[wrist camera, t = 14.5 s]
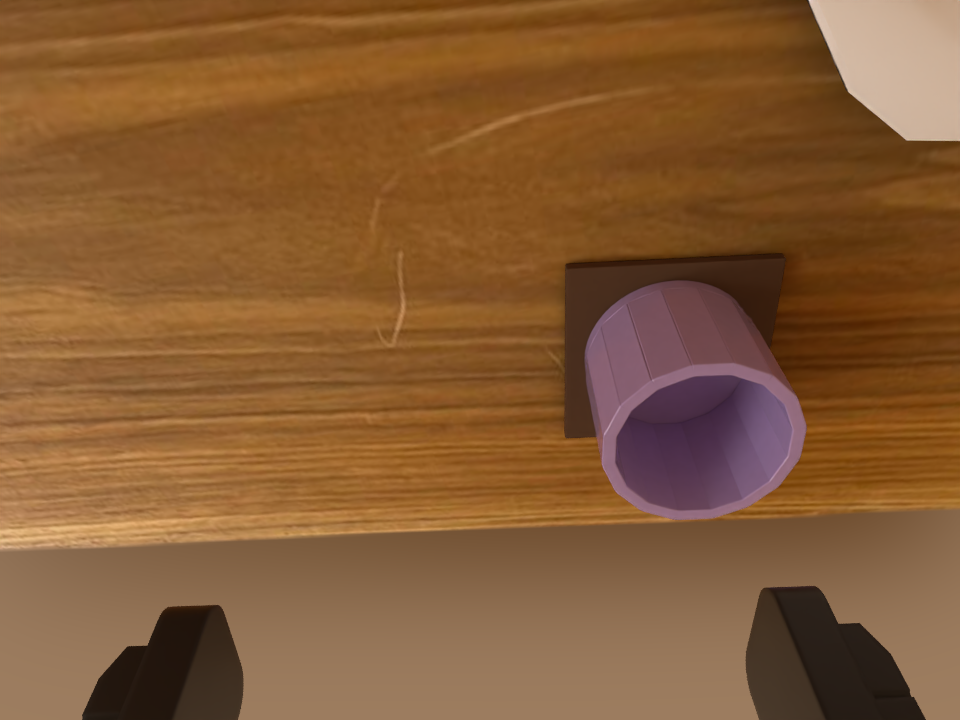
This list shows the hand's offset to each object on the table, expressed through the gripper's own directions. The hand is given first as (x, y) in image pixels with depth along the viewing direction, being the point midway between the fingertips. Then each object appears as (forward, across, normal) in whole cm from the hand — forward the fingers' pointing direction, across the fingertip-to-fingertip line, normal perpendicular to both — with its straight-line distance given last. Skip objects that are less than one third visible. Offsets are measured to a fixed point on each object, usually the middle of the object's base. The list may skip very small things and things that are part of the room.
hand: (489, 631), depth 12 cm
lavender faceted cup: (+15, -6, +5) cm, 17 cm away
